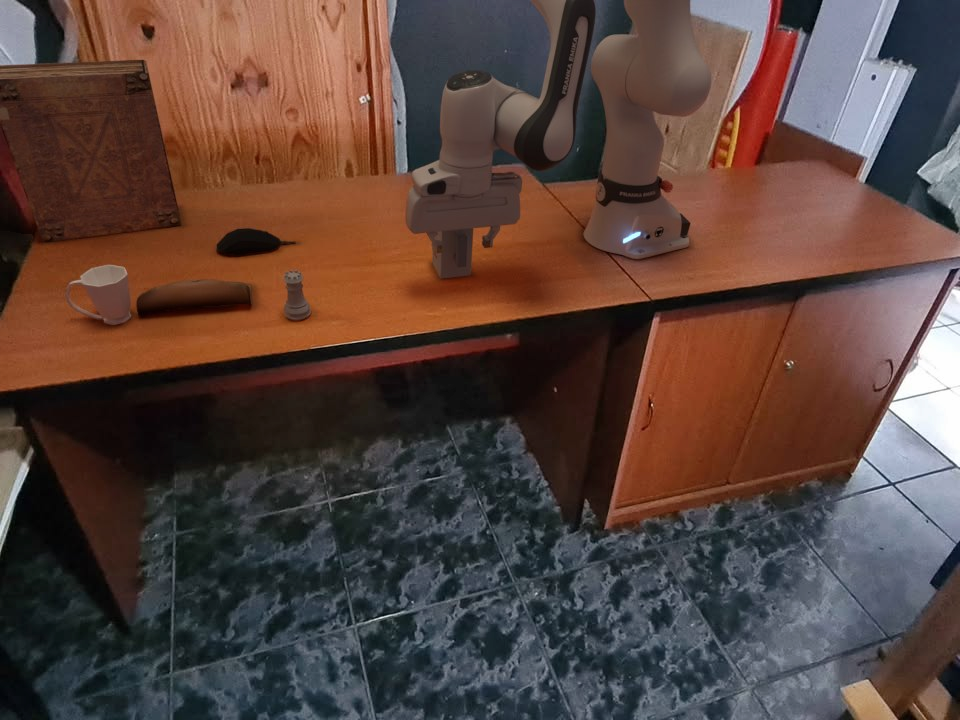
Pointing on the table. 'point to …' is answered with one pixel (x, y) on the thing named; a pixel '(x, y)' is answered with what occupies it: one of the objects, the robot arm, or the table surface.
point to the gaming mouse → (248, 242)
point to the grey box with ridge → (454, 253)
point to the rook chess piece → (295, 297)
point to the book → (88, 147)
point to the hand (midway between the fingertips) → (462, 249)
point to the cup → (105, 293)
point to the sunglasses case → (194, 295)
